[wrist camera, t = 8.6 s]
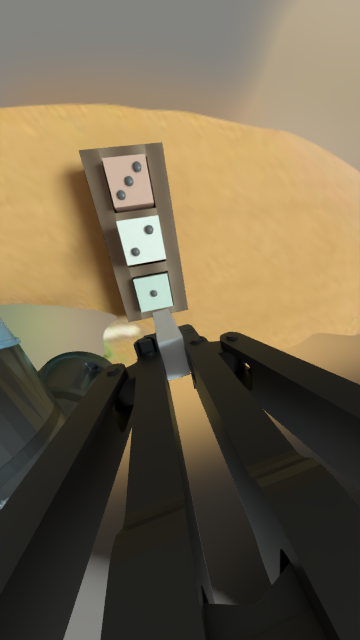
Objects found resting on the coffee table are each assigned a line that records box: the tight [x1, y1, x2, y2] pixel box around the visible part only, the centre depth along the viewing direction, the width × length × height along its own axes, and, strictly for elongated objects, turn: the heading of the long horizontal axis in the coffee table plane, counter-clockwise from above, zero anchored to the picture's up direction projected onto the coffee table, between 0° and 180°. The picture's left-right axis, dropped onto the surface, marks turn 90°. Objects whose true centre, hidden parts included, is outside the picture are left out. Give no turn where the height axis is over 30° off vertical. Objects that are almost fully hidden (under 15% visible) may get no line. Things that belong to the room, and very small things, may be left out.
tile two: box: [116, 215, 166, 266], centre depth 23 cm, size 5×5×5 cm
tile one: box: [133, 272, 173, 312], centre depth 28 cm, size 5×5×5 cm
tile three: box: [102, 154, 154, 213], centre depth 23 cm, size 5×5×5 cm
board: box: [79, 143, 188, 322], centre depth 26 cm, size 10×22×4 cm, turn 9°
